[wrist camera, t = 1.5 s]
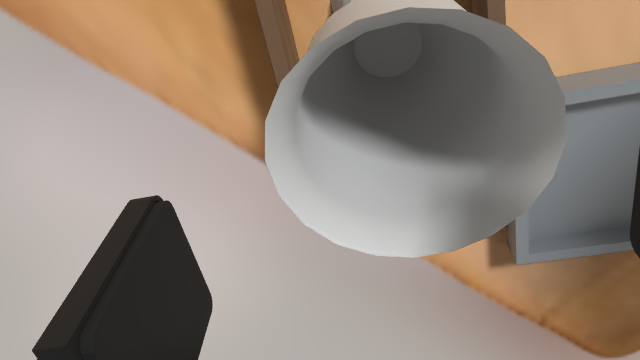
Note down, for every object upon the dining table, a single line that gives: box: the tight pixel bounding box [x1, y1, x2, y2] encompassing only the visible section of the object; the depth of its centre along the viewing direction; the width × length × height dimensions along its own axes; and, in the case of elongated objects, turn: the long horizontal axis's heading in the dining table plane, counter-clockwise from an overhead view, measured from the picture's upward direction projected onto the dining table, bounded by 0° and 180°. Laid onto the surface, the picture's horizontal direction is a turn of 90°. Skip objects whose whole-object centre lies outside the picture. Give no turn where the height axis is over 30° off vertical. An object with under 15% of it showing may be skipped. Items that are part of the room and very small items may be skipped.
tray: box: [507, 63, 640, 265], centre depth 31 cm, size 14×12×2 cm
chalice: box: [265, 0, 567, 258], centre depth 20 cm, size 7×7×18 cm
